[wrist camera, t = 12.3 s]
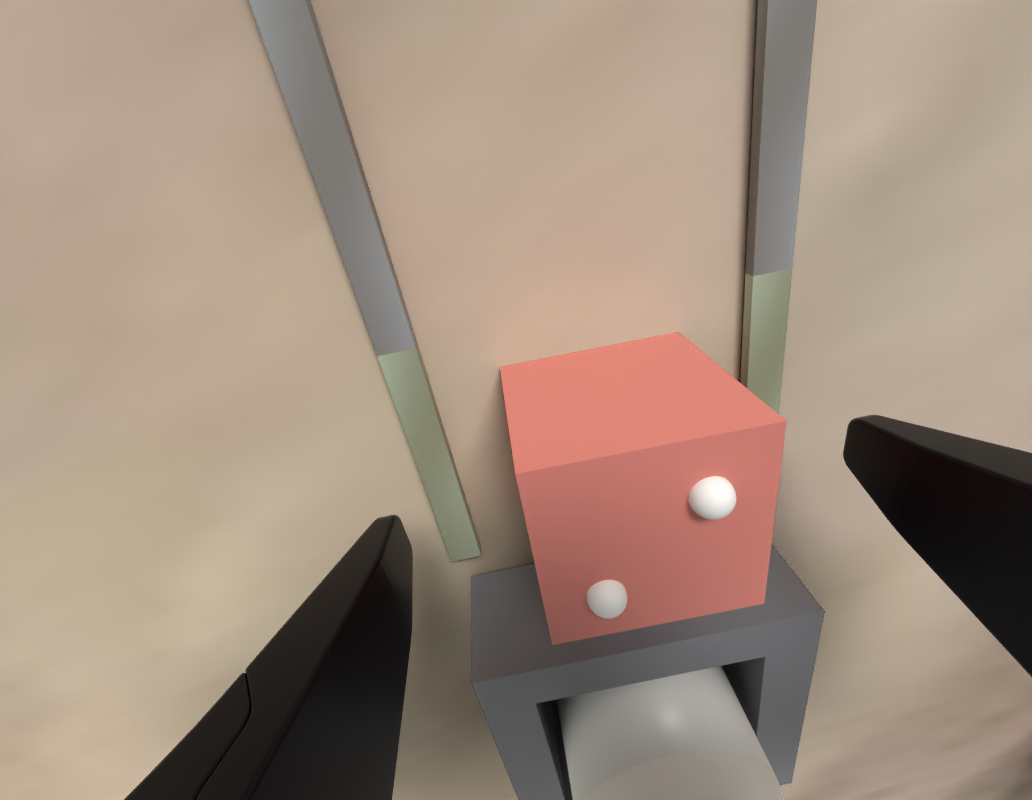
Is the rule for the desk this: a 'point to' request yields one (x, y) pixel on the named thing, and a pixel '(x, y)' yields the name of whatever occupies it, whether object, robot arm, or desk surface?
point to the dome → (665, 742)
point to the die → (642, 484)
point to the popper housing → (635, 668)
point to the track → (373, 279)
